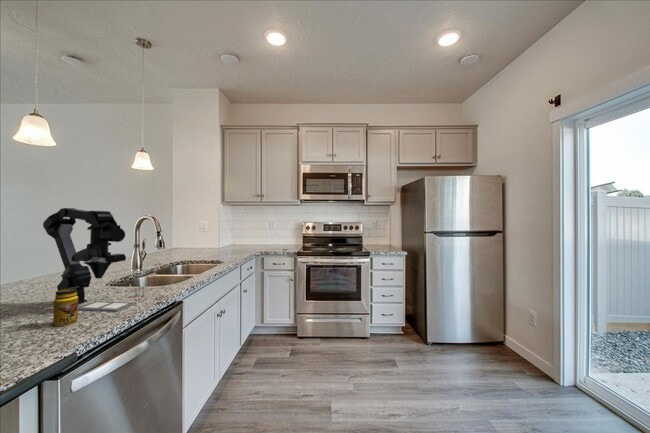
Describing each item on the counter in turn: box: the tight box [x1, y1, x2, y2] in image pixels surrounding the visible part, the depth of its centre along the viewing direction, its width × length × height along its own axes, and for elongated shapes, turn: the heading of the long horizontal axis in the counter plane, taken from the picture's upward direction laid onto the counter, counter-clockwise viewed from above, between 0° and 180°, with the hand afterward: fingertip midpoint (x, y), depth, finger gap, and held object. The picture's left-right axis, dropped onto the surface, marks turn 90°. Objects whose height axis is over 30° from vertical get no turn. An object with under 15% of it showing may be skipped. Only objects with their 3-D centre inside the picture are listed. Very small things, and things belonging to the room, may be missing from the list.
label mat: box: [78, 300, 136, 313], centre depth 107 cm, size 18×9×1 cm, turn 87°
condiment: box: [39, 288, 84, 331], centre depth 89 cm, size 7×8×12 cm
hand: (98, 278), depth 106 cm, fingers closed
